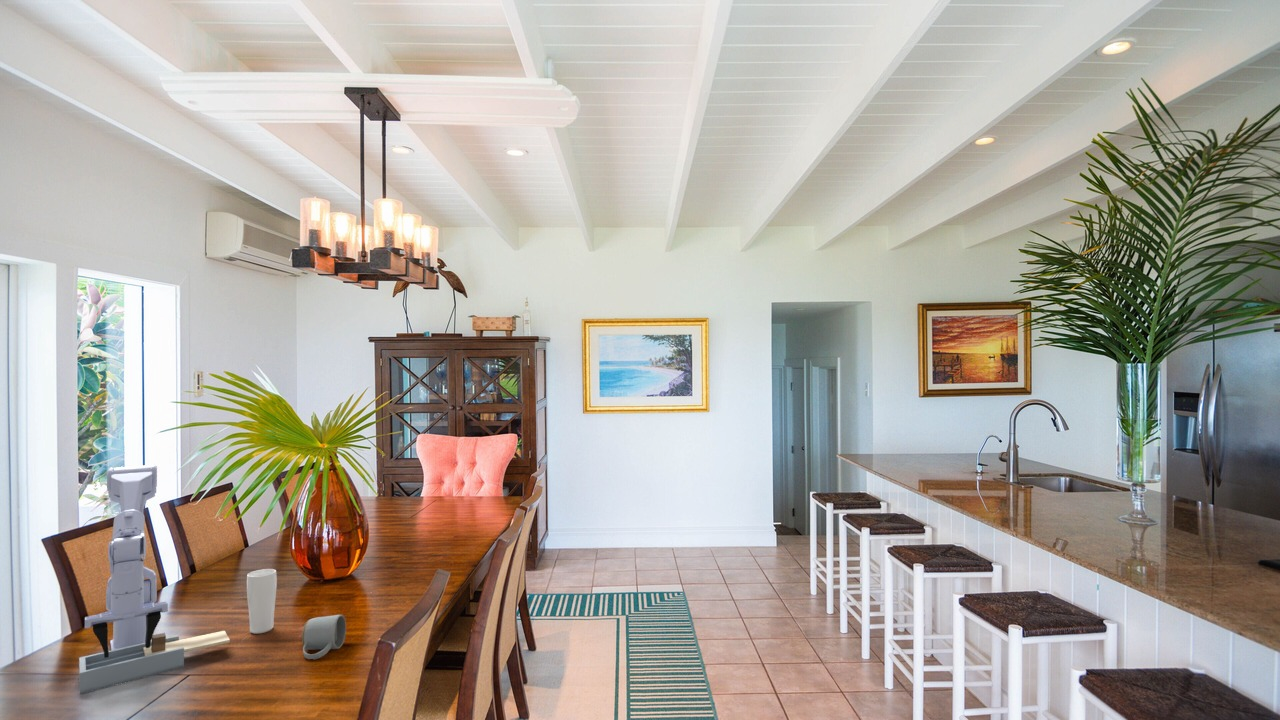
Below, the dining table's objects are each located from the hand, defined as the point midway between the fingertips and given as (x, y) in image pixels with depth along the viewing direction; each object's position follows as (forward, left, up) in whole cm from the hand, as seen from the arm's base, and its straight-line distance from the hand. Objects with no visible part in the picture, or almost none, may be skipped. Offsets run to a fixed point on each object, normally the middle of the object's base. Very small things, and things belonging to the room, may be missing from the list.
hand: (127, 651), depth 145 cm
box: (0, +1, -5) cm, 5 cm away
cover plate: (0, +11, -2) cm, 11 cm away
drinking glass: (-7, +28, -5) cm, 29 cm away
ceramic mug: (+17, +36, -5) cm, 40 cm away
